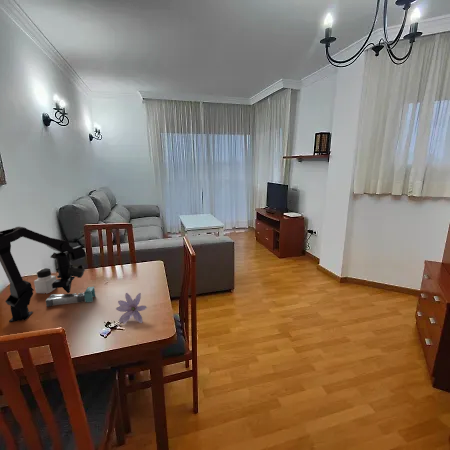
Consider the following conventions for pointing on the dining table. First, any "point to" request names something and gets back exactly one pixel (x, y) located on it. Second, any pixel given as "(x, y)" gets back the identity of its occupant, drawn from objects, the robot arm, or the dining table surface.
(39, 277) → the medicine bottle
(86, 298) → the teal notched block
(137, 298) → the purple flower
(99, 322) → the dining table surface
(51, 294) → the tong arm
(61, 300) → the tong frame
